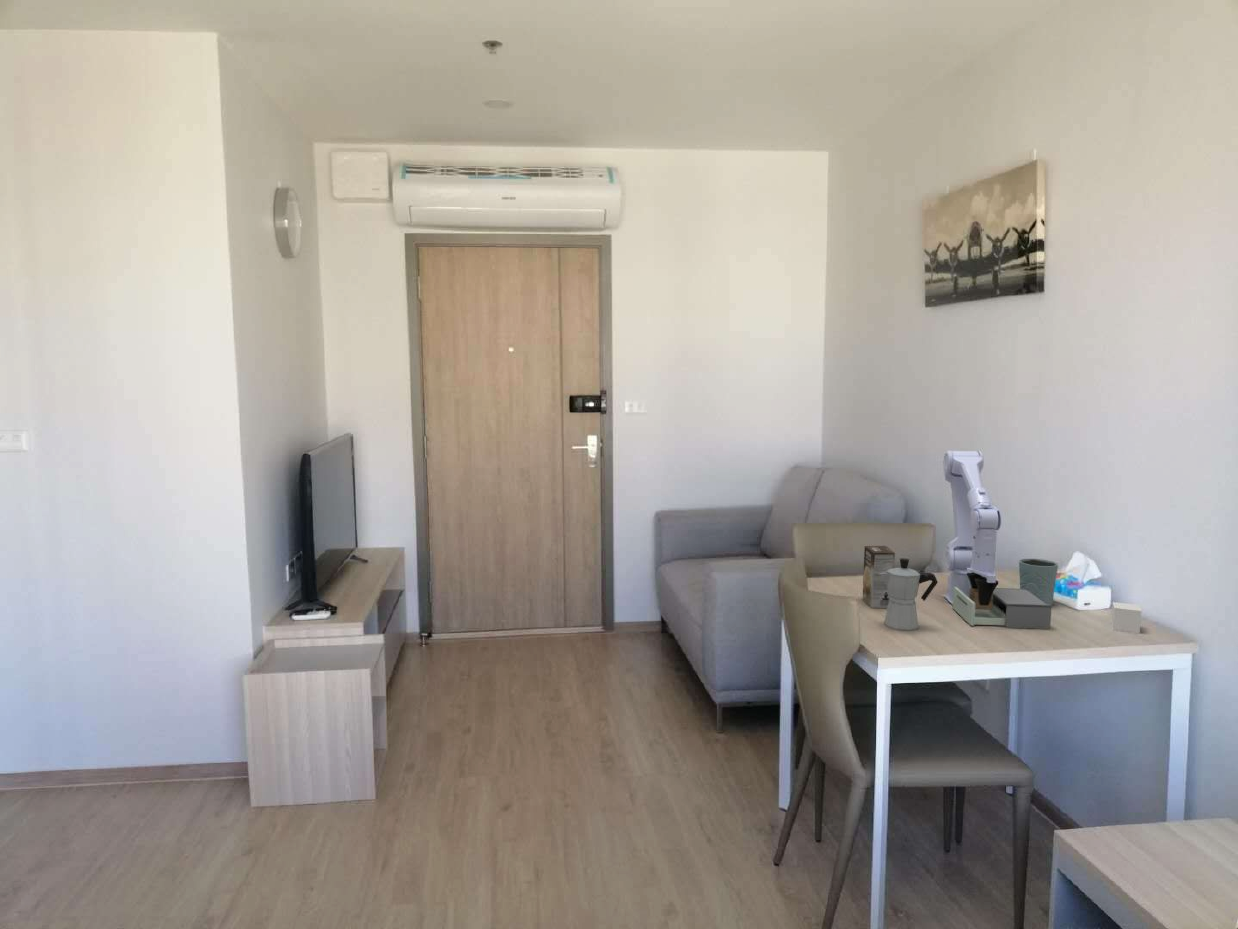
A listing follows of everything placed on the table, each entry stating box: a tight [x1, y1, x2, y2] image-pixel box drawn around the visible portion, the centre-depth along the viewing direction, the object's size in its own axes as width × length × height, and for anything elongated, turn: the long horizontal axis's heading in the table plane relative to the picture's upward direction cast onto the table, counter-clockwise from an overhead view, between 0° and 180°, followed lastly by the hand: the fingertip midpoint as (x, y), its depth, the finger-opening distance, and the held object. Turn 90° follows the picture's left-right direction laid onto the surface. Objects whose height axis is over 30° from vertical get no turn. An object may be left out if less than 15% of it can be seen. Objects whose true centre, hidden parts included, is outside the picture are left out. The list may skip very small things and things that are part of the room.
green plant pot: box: [1018, 558, 1059, 606], centre depth 241 cm, size 10×10×12 cm
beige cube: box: [1110, 601, 1142, 634], centre depth 218 cm, size 6×6×6 cm
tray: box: [952, 587, 1006, 627], centre depth 226 cm, size 16×11×6 cm
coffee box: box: [862, 545, 896, 609], centre depth 239 cm, size 9×6×16 cm
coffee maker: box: [879, 557, 939, 632], centre depth 218 cm, size 15×9×18 cm, turn 82°
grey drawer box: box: [993, 587, 1053, 630], centre depth 225 cm, size 16×11×6 cm
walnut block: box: [969, 589, 993, 610], centre depth 226 cm, size 5×5×4 cm
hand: (980, 602), depth 226 cm, fingers closed on walnut block, 5 cm apart
